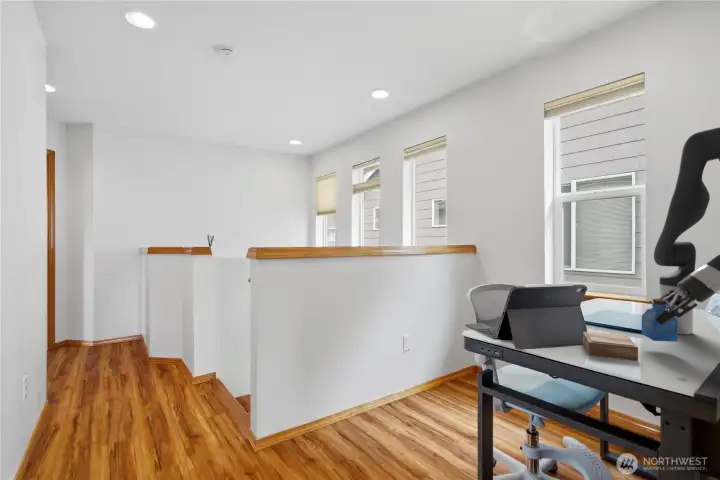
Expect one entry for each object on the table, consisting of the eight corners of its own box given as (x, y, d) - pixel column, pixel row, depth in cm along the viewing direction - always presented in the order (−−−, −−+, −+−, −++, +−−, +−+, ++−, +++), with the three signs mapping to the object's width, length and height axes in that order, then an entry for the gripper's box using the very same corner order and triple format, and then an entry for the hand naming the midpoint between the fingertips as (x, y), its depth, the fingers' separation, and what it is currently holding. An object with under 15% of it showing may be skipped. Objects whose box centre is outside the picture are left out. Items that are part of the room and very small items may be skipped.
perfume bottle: (677, 341, 105) (677, 302, 104) (653, 340, 106) (654, 302, 106) (663, 334, 111) (664, 297, 110) (641, 334, 112) (642, 297, 112)
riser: (582, 343, 117) (582, 330, 117) (626, 347, 112) (626, 334, 112) (589, 355, 106) (589, 341, 106) (638, 360, 101) (638, 346, 101)
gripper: (681, 270, 111) (635, 304, 116) (703, 278, 98) (650, 315, 103) (702, 287, 109) (655, 321, 114) (728, 297, 96) (673, 334, 101)
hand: (653, 318), depth 109 cm, fingers closed on perfume bottle, 7 cm apart
